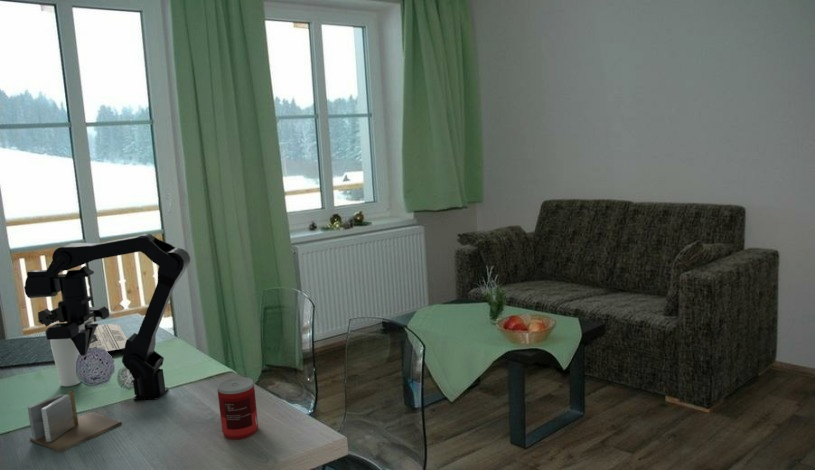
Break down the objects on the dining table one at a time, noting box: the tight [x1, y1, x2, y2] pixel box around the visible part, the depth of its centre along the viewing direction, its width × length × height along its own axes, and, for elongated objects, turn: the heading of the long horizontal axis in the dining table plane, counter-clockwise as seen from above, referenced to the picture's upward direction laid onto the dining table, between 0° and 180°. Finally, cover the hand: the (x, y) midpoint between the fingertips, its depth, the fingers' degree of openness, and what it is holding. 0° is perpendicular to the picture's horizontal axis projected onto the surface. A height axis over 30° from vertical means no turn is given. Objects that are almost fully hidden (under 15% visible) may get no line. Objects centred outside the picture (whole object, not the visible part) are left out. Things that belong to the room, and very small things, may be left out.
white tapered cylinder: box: [49, 338, 81, 388], centre depth 175 cm, size 7×7×15 cm
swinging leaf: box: [41, 394, 75, 442], centre depth 143 cm, size 8×1×8 cm, turn 170°
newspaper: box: [89, 323, 129, 352], centre depth 211 cm, size 35×12×4 cm, turn 34°
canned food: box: [217, 376, 259, 440], centre depth 140 cm, size 8×8×11 cm
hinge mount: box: [27, 390, 122, 453], centre depth 145 cm, size 14×12×9 cm
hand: (83, 355), depth 161 cm, fingers closed
